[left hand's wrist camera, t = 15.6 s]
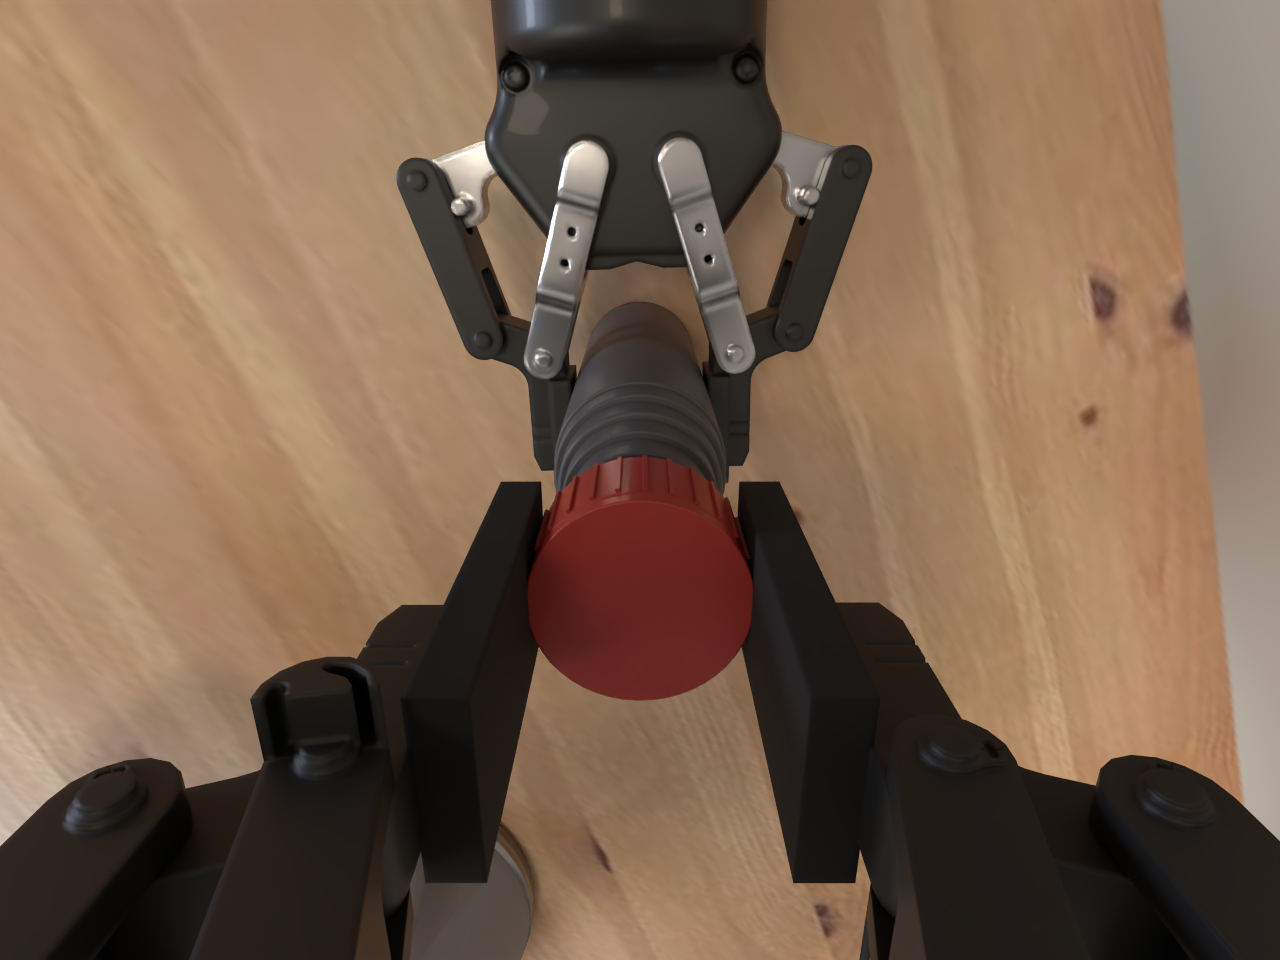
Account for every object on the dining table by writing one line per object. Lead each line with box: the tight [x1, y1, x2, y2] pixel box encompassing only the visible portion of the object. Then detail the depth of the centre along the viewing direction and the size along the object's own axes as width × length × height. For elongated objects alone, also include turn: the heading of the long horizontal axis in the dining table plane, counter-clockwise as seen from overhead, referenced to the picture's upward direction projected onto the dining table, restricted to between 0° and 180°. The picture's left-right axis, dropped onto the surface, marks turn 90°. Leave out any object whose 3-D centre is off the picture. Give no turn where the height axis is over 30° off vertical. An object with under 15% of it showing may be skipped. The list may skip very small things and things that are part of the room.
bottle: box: [554, 302, 726, 496], centre depth 22 cm, size 4×4×20 cm
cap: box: [527, 455, 753, 701], centre depth 14 cm, size 4×4×2 cm
